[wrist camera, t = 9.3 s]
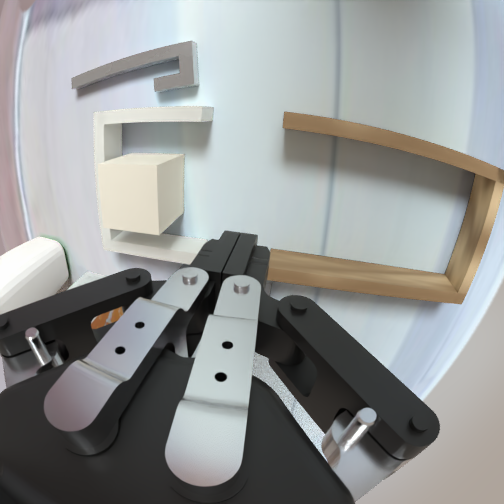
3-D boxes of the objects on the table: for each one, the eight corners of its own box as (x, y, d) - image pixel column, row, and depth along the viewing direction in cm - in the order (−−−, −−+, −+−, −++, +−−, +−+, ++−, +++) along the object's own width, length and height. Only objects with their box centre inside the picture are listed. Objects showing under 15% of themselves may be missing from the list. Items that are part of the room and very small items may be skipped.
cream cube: (132, 152, 25) (97, 164, 20) (184, 154, 24) (157, 165, 19) (134, 206, 27) (103, 227, 22) (184, 212, 27) (159, 235, 22)
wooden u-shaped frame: (286, 112, 21) (284, 111, 18) (486, 163, 19) (507, 171, 16) (269, 260, 27) (265, 279, 24) (448, 285, 25) (461, 304, 22)
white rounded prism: (68, 235, 30) (-18, 302, 17) (77, 285, 33) (9, 357, 20) (33, 227, 31) (-45, 282, 18) (43, 273, 34) (-22, 333, 21)
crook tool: (79, 78, 21) (71, 78, 20) (196, 43, 19) (192, 40, 18) (81, 113, 23) (73, 114, 22) (199, 85, 21) (194, 84, 20)
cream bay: (112, 110, 23) (93, 112, 20) (213, 107, 22) (202, 106, 19) (118, 237, 29) (103, 249, 26) (207, 250, 28) (197, 265, 25)
